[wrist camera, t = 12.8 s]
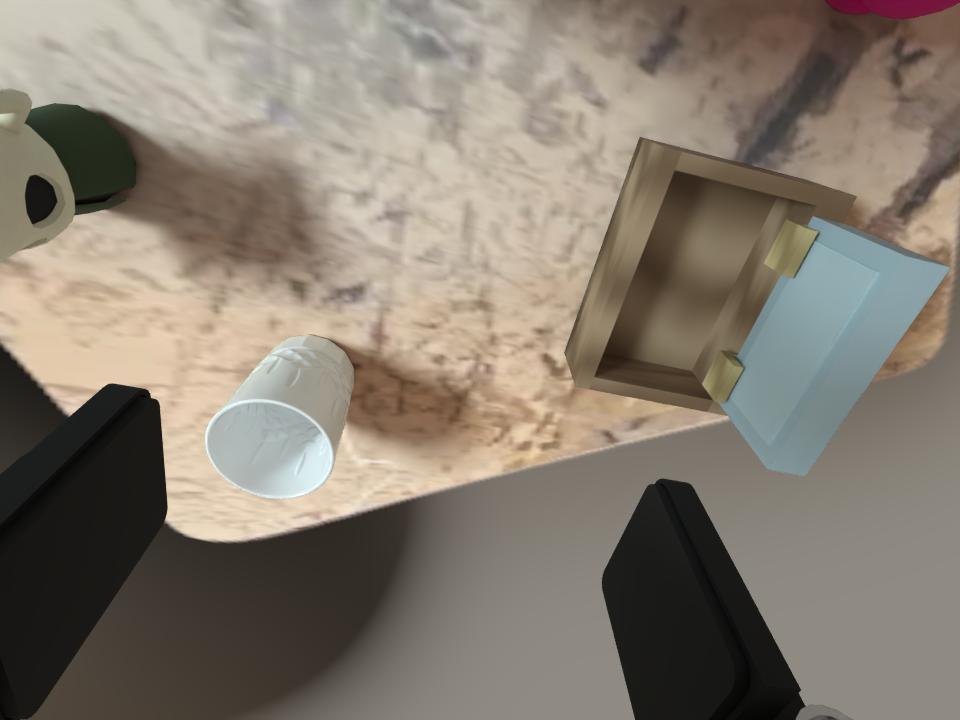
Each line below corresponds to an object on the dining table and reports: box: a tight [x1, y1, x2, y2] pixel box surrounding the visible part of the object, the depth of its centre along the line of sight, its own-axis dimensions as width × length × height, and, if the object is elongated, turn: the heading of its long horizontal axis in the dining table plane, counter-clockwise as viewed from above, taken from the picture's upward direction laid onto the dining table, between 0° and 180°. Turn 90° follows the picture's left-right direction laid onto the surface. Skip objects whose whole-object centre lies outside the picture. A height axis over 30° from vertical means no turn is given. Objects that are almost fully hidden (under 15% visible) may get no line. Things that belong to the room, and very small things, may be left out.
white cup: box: [205, 335, 354, 499], centre depth 37 cm, size 8×8×10 cm
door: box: [718, 216, 951, 476], centre depth 31 cm, size 13×3×8 cm, turn 167°
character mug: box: [0, 89, 136, 262], centre depth 28 cm, size 11×7×13 cm, turn 137°
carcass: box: [564, 137, 856, 416], centre depth 35 cm, size 16×13×7 cm
